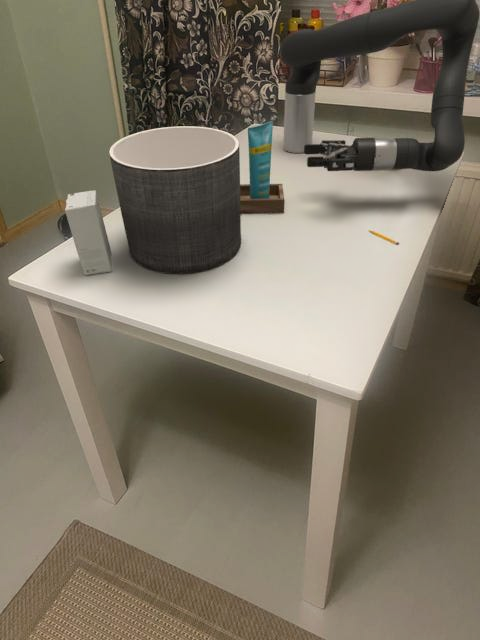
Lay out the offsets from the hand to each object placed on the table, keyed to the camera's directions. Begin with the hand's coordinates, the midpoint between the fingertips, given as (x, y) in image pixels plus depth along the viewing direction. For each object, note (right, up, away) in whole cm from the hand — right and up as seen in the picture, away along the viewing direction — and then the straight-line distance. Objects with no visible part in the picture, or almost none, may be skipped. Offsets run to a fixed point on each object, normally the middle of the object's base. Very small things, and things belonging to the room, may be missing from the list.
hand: (305, 155), depth 113 cm
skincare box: (-46, -28, -13) cm, 55 cm away
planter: (-28, -23, -7) cm, 37 cm away
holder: (-11, -10, +8) cm, 17 cm away
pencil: (+16, -21, -6) cm, 28 cm away
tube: (-11, -9, +8) cm, 16 cm away
